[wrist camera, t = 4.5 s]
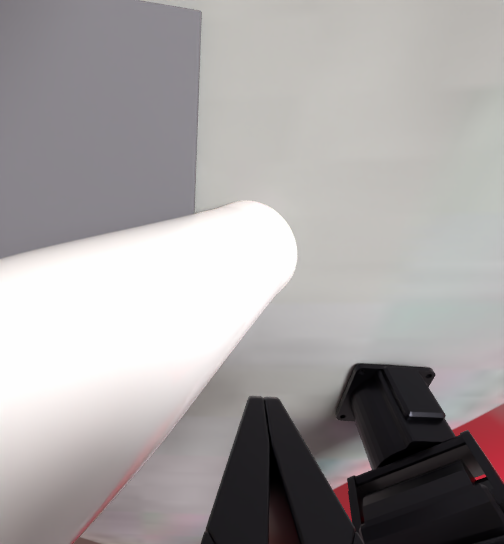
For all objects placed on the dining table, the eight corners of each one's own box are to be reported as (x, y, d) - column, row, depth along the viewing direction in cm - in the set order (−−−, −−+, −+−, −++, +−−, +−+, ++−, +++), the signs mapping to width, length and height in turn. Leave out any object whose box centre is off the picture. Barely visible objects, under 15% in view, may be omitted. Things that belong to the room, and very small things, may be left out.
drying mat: (189, 354, 24) (188, 358, 23) (-14, 342, 22) (-18, 346, 22) (201, 12, 13) (200, 10, 13) (-172, -50, 12) (-184, -54, 12)
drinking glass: (279, 322, 19) (-6, 658, 7) (194, 257, 20) (-160, 446, 9) (340, 230, 15) (-69, 638, 3) (229, 158, 16) (-334, 254, 5)
